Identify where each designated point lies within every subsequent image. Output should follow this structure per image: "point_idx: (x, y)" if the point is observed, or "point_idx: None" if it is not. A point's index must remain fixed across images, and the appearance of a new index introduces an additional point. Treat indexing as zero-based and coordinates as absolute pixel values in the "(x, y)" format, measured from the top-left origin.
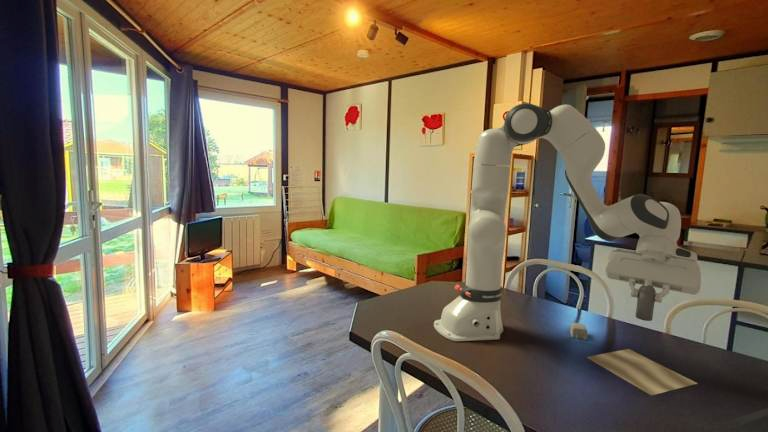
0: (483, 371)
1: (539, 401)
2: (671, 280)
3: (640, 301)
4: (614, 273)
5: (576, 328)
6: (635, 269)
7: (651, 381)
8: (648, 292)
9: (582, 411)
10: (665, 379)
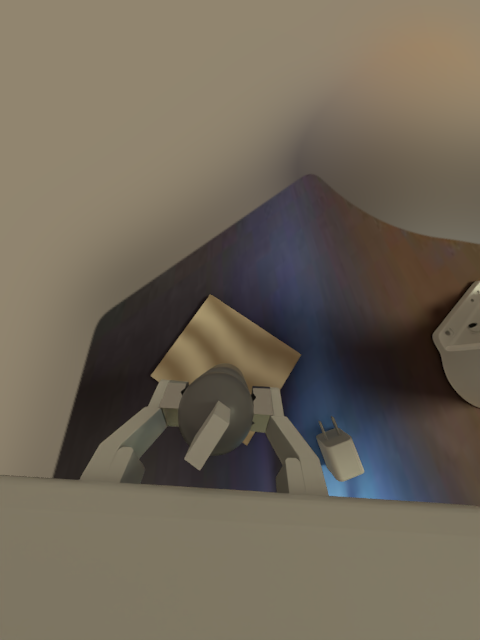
0: (396, 231)
1: (318, 211)
2: (35, 516)
3: (238, 373)
4: (439, 504)
5: (347, 440)
6: (334, 628)
7: (210, 335)
8: (210, 374)
9: (275, 221)
10: (192, 356)
